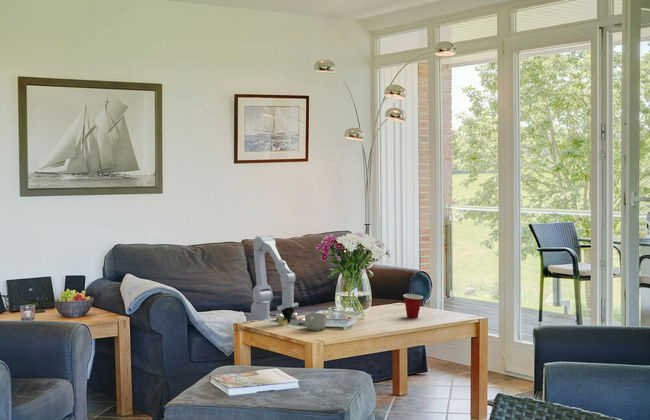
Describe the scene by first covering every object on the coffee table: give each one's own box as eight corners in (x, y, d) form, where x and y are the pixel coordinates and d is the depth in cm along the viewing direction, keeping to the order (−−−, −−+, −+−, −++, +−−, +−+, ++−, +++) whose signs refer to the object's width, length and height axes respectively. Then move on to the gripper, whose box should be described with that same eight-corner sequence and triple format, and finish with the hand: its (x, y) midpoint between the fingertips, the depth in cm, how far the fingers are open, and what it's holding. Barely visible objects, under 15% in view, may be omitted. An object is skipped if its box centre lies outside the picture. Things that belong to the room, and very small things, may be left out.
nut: (276, 325, 431) (276, 319, 431) (280, 323, 435) (280, 317, 435) (285, 326, 429) (285, 320, 429) (289, 324, 433) (289, 318, 433)
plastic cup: (416, 320, 453) (416, 297, 453) (398, 317, 460) (399, 295, 459) (426, 317, 462) (427, 295, 461) (409, 314, 469) (409, 293, 468)
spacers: (272, 320, 444) (272, 314, 444) (287, 317, 454) (287, 311, 454) (308, 326, 430) (308, 320, 429) (323, 322, 440) (324, 316, 440)
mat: (261, 323, 437) (261, 322, 437) (286, 318, 453) (286, 317, 453) (298, 329, 423) (298, 328, 423) (322, 323, 439) (322, 323, 439)
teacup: (311, 327, 430) (311, 311, 430) (330, 329, 425) (330, 313, 425) (297, 331, 418) (297, 315, 418) (317, 334, 413) (317, 317, 413)
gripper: (285, 298, 426) (284, 325, 427) (302, 295, 438) (302, 321, 438) (274, 297, 430) (273, 323, 431) (292, 293, 442) (291, 319, 443)
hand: (287, 322), depth 435 cm, fingers closed
